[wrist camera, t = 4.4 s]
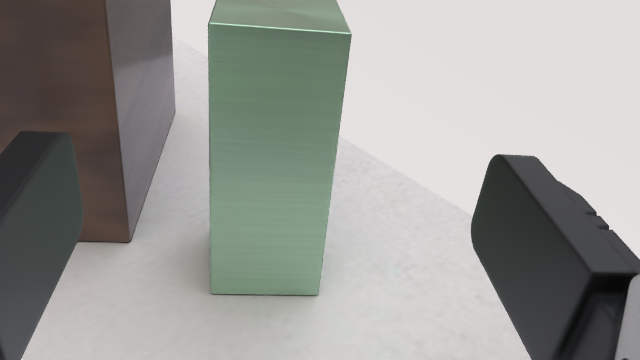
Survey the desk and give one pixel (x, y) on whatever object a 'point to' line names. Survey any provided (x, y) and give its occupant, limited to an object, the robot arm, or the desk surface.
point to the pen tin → (273, 141)
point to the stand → (92, 95)
